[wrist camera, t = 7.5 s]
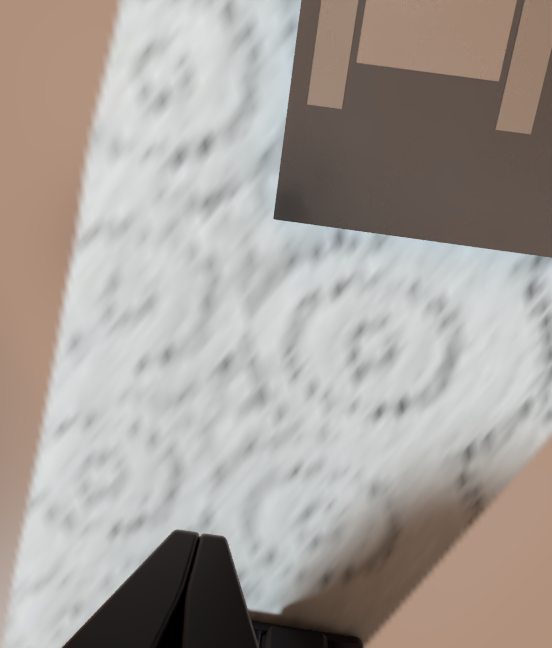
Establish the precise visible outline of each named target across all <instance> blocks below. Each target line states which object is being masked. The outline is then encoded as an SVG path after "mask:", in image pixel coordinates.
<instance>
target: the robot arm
mask: <svg viewBox="0 0 552 648" xmlns="http://www.w3.org/2000/svg"><path fill="white" fill-rule="evenodd" d="M62 648H363V643H362V641H361V640H360V639H359V638H357V637H353V636H346V635H340V634H333V633H326V632H320V631H313V630H307V629H300V628H293V627H287V626H280V625H274V624H267V623H260V622H254V621H251V619H250V615H249V612H248V609H247V605H246V602H245V599H244V595H243V592H242V589H241V585H240V582H239V579H238V575H237V572H236V569H235V565H234V562H233V559H232V555H231V552H230V549H229V545H228V542H227V540H226V538H225V537H224V536H218V535H212V534H202V535H201V536H199V534H198V533H197V532H191V531H185V530H175V531H173V532H172V533H171V534H170V535H169V536H168V537H167V538H166V539H165V540H164V541H163V542H162V543H161V545H160V546H159V547H158V548H157V549H156V550H155V551H154V552H153V553H152V554H151V555H150V556H149V557H148V558H147V559H146V560H145V561H144V562H143V563H142V564H141V565H140V566H139V568H138V569H137V570H136V571H135V572H134V573H133V574H132V575H131V576H130V577H129V578H128V579H127V580H126V581H125V582H124V583H123V584H122V585H121V586H120V587H119V588H118V590H117V591H116V592H115V593H114V594H113V595H112V596H111V597H110V598H109V599H108V600H107V601H106V602H105V603H104V604H103V605H102V606H101V607H100V608H99V609H98V610H97V611H96V613H95V614H94V615H93V616H92V617H91V618H90V619H89V620H88V621H87V622H86V623H85V624H84V625H83V626H82V627H81V628H80V629H79V630H78V631H77V632H76V633H75V634H74V636H73V637H72V638H71V639H70V640H69V641H68V642H67V643H66V644H65V645H64V646H63V647H62Z"/></svg>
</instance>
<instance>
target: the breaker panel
mask: <svg viewBox="0 0 552 648" xmlns="http://www.w3.org/2000/svg"><path fill="white" fill-rule="evenodd" d="M274 219H276V220H283V221H291V222H298V223H305V224H313V225H320V226H327V227H334V228H342V229H349V230H356V231H363V232H371V233H378V234H385V235H392V236H400V237H407V238H414V239H421V240H429V241H436V242H443V243H450V244H458V245H465V246H472V247H479V248H487V249H494V250H501V251H508V252H516V253H523V254H530V255H537V256H545V257H552V0H302V1H301V9H300V16H299V24H298V32H297V40H296V47H295V55H294V63H293V71H292V79H291V86H290V94H289V102H288V110H287V117H286V125H285V133H284V141H283V149H282V156H281V164H280V172H279V180H278V188H277V195H276V203H275V211H274Z"/></svg>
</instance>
